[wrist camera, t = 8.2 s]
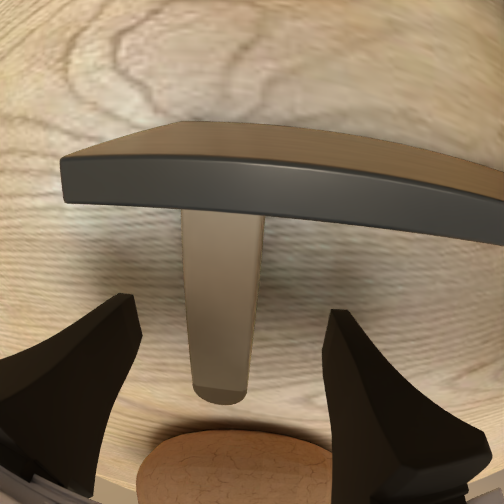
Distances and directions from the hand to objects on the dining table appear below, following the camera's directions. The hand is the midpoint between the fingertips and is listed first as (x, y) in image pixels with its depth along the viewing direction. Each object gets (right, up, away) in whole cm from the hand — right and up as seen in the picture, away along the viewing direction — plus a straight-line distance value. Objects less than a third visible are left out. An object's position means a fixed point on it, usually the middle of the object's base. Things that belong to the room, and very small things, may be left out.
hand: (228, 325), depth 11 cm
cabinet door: (+7, +3, 0) cm, 8 cm away
